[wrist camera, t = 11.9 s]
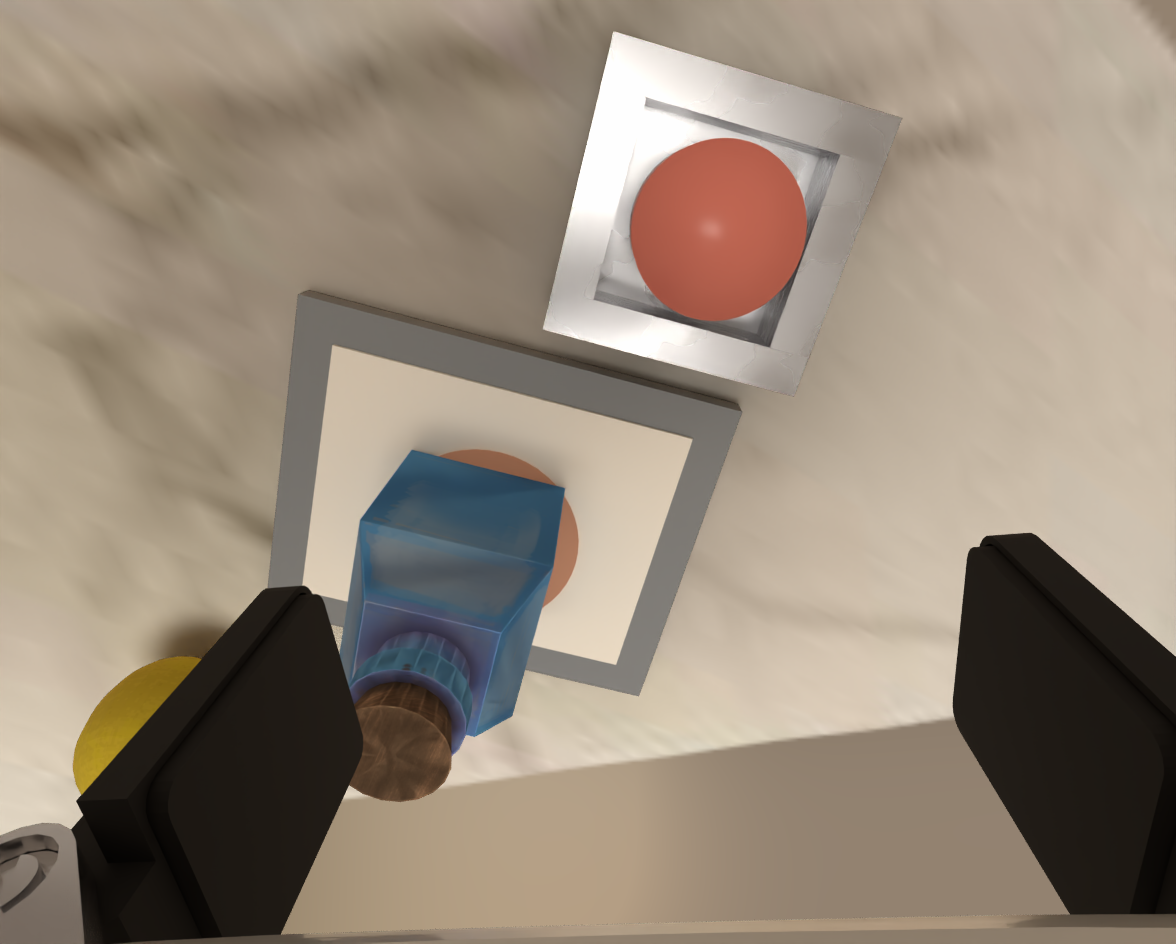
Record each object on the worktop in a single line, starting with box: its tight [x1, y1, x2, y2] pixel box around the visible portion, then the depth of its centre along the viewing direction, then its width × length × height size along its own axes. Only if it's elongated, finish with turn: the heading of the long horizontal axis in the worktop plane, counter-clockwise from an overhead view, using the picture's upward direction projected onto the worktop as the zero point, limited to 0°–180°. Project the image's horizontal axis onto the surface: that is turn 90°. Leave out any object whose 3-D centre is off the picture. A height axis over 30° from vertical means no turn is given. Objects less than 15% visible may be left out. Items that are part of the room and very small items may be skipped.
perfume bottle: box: [340, 450, 565, 802], centre depth 24 cm, size 6×6×12 cm
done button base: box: [543, 32, 902, 397], centre depth 24 cm, size 9×9×3 cm
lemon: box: [73, 656, 201, 795], centre depth 30 cm, size 6×6×8 cm
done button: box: [630, 138, 807, 321], centre depth 23 cm, size 5×5×3 cm
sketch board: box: [268, 290, 742, 696], centre depth 30 cm, size 17×14×1 cm
